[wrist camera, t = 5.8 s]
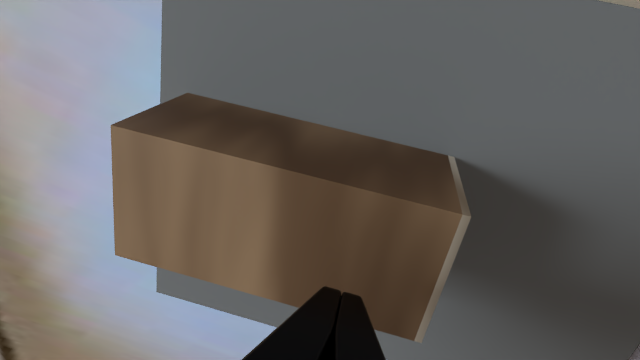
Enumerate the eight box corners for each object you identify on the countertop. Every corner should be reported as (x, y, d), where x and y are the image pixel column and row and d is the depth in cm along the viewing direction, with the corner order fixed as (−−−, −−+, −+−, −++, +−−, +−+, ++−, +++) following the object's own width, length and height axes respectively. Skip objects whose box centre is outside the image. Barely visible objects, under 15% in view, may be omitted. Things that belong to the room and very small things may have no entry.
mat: (832, 47, 11) (846, 49, 10) (582, 409, 16) (586, 418, 16) (171, -83, 12) (164, -85, 12) (161, 286, 18) (156, 291, 18)
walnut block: (471, 216, 10) (110, 125, 10) (421, 343, 11) (115, 255, 12) (454, 157, 13) (187, 92, 14) (418, 259, 15) (182, 196, 16)
